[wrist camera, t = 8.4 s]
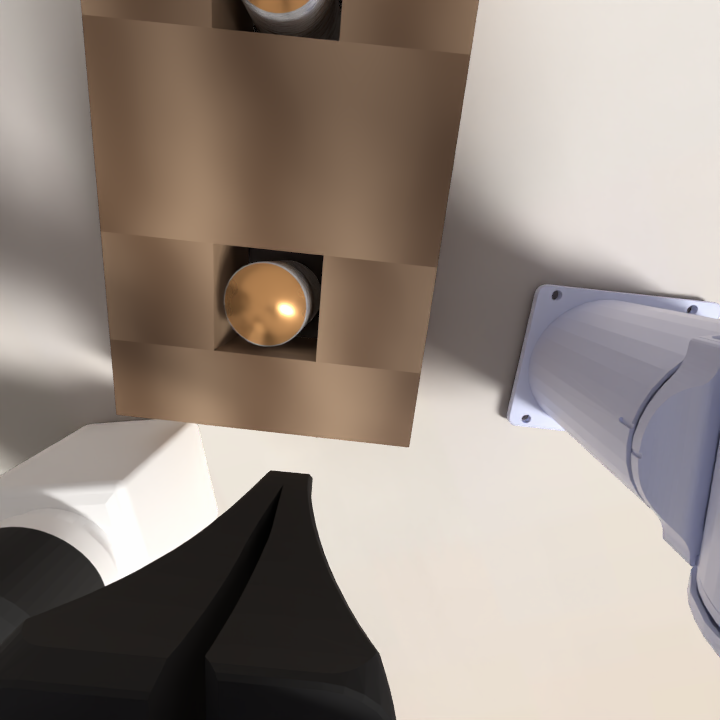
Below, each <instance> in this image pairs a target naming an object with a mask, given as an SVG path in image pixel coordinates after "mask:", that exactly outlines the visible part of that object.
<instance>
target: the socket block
mask: <svg viewBox="0 0 720 720" xmlns="http://www.w3.org/2000/svg"><path fill="white" fill-rule="evenodd" d="M478 4H479V0H342V12H341V25H340V39H339V41H333V40H324V39H314V38H304V37H295V36H285V35H275V34H266V33H256V32H253V20H252V18H251V17H250V15H249V13H248V11H247V9H246V7H245V5H244V3H243V1H242V0H81V9H82V21H83V32H84V44H85V55H86V67H87V79H88V90H89V102H90V113H91V125H92V137H93V148H94V160H95V171H96V183H97V195H98V206H99V218H100V229H101V241H102V252H103V264H104V276H105V287H106V299H107V310H108V322H109V334H110V345H111V357H112V368H113V380H114V392H115V403H116V415H124V416H133V417H142V418H151V419H160V420H169V421H177V422H186V423H195V424H204V425H213V426H222V427H231V428H240V429H249V430H258V431H267V432H276V433H285V434H294V435H303V436H312V437H321V438H330V439H339V440H348V441H357V442H366V443H375V444H384V445H392V446H401V447H409V444H410V438H411V432H412V425H413V419H414V412H415V406H416V400H417V393H418V387H419V380H420V374H421V368H422V361H423V355H424V348H425V342H426V336H427V329H428V323H429V317H430V310H431V304H432V297H433V291H434V285H435V278H436V272H437V265H438V259H439V253H440V246H441V240H442V234H443V227H444V221H445V214H446V208H447V202H448V195H449V189H450V182H451V176H452V170H453V163H454V157H455V150H456V144H457V138H458V131H459V125H460V119H461V112H462V106H463V99H464V93H465V87H466V80H467V74H468V67H469V61H470V55H471V48H472V42H473V36H474V29H475V23H476V16H477V10H478ZM249 247H250V248H260V249H269V250H278V251H288V252H297V253H306V254H315V255H324V258H323V271H322V285H321V299H320V312H319V326H318V339H317V338H308V337H299V336H295V337H294V338H292V339H291V340H290V341H288V342H286V343H284V344H281V345H277V346H260V345H256V344H253V343H251V342H249V341H247V340H245V339H244V338H242V337H241V336H240V335H239V334H238V333H237V332H236V331H235V330H234V329H233V328H232V326H231V324H230V323H229V321H228V319H227V316H226V313H225V309H224V293H225V289H226V286H227V284H228V282H229V280H230V278H231V277H232V276H233V275H234V273H235V272H236V271H238V270H239V269H240V268H242V267H244V266H245V265H248V259H249Z"/></svg>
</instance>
